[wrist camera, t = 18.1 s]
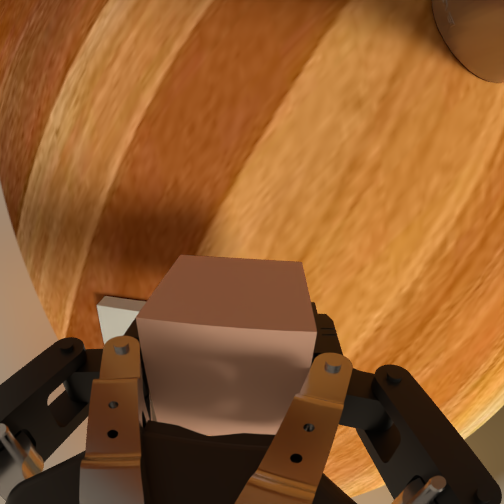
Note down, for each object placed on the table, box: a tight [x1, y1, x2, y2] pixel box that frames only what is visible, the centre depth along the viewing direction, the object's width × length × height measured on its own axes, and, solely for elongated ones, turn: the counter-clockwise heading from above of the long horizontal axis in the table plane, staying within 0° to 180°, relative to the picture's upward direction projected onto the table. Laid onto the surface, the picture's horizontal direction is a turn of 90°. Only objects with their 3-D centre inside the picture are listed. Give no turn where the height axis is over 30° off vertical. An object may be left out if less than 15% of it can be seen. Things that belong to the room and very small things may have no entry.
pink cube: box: [136, 255, 317, 436], centre depth 12 cm, size 5×5×5 cm
